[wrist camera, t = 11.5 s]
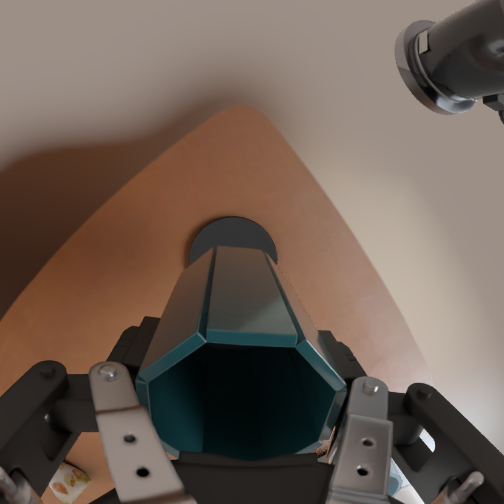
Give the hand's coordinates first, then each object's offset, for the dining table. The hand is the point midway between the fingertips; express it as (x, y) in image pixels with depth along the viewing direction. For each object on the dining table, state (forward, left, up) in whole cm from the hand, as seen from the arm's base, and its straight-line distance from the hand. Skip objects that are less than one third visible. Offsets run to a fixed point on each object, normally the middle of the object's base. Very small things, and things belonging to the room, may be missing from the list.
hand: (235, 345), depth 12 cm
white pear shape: (+24, +36, -14) cm, 45 cm away
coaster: (0, 0, -13) cm, 13 cm away
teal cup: (0, 0, -5) cm, 5 cm away
